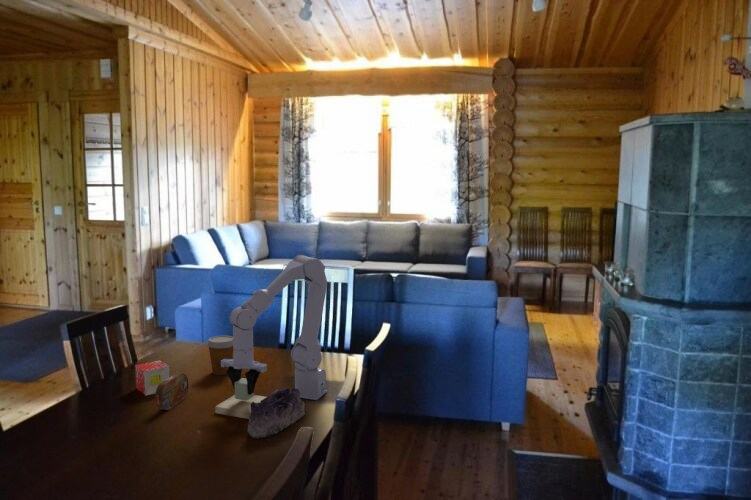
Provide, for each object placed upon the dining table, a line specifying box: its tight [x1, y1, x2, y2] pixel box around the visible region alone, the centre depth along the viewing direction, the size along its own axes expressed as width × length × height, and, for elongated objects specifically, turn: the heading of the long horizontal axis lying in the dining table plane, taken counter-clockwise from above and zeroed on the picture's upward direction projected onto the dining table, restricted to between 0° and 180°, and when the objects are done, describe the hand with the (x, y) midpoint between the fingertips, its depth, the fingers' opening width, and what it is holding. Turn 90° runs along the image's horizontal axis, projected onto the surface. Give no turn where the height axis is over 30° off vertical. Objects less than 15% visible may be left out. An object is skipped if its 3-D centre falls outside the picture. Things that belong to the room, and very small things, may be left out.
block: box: [234, 377, 255, 401], centre depth 175 cm, size 4×4×5 cm
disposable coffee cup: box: [206, 335, 234, 376], centre depth 207 cm, size 10×10×12 cm
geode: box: [247, 387, 306, 440], centre depth 164 cm, size 20×12×10 cm, turn 158°
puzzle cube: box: [135, 360, 171, 396], centre depth 190 cm, size 8×8×8 cm
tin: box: [154, 373, 189, 411], centre depth 178 cm, size 15×3×8 cm, turn 168°
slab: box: [214, 394, 268, 420], centre depth 175 cm, size 12×12×2 cm
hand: (244, 392), depth 175 cm, fingers closed on block, 4 cm apart
